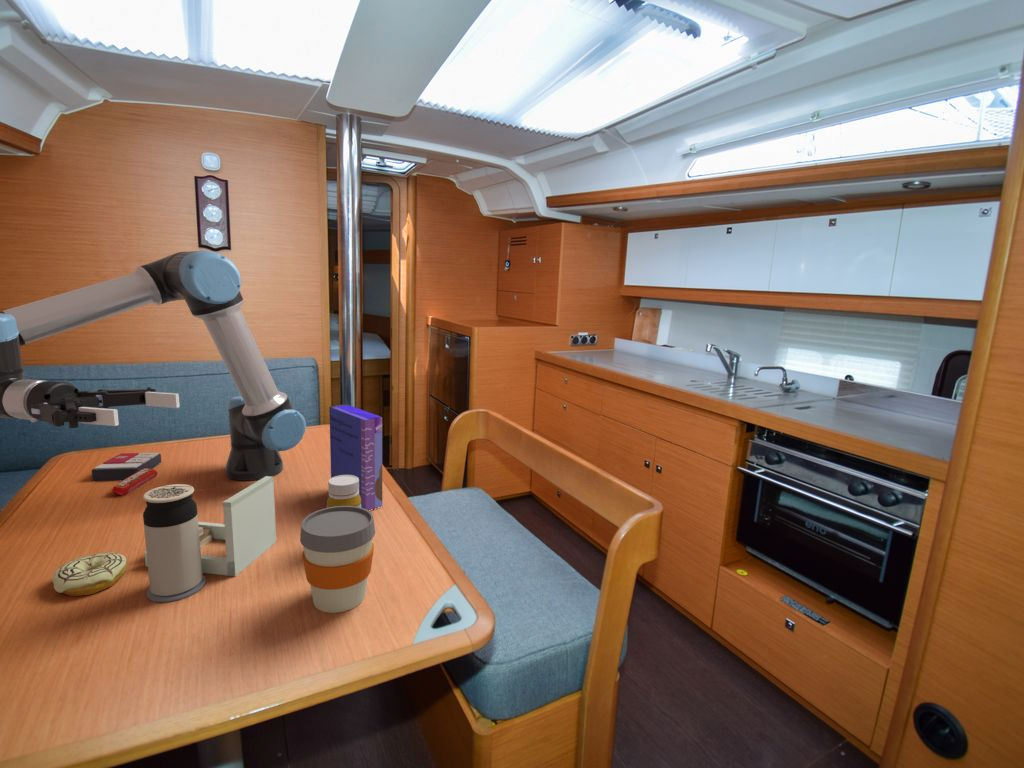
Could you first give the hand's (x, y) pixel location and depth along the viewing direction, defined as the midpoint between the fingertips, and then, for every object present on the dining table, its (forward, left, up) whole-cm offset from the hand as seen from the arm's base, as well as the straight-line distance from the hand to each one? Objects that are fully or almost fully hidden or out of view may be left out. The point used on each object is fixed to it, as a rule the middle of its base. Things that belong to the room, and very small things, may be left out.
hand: (149, 408), depth 92 cm
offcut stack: (-4, -6, -32) cm, 33 cm away
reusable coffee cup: (-22, +29, -32) cm, 49 cm away
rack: (-9, -1, -32) cm, 33 cm away
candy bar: (-2, -52, -33) cm, 62 cm away
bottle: (-31, +12, -32) cm, 46 cm away
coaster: (-1, +8, -32) cm, 33 cm away
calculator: (-2, -66, -33) cm, 73 cm away
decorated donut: (+11, -4, -32) cm, 34 cm away
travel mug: (-1, +8, -32) cm, 33 cm away
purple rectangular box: (-44, -9, -32) cm, 55 cm away
